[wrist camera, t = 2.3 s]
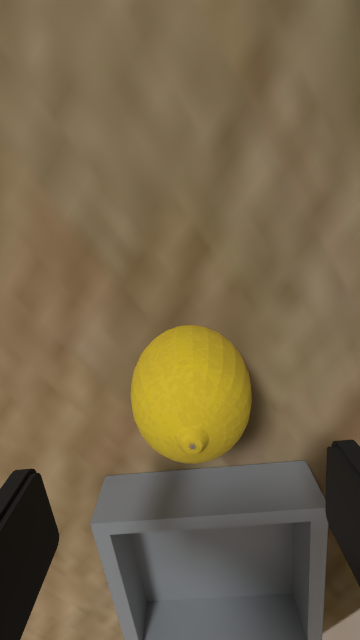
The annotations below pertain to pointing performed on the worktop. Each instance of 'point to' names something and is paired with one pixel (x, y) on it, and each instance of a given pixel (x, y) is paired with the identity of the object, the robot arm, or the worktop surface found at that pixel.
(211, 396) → the lemon
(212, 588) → the box
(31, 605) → the robot arm
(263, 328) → the worktop surface
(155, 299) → the worktop surface
